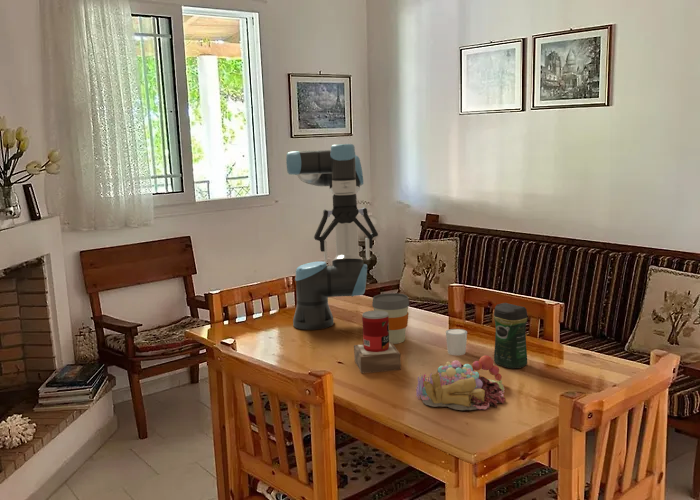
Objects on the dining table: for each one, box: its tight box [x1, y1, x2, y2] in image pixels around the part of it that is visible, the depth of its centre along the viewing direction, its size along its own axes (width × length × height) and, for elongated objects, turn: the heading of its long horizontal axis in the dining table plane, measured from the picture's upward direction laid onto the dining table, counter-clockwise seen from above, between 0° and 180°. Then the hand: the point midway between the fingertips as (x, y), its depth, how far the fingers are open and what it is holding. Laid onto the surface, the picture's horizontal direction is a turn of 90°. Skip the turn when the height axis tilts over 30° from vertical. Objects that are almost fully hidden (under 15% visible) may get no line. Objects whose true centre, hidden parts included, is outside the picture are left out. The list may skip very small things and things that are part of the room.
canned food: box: [361, 310, 389, 352], centre depth 208 cm, size 8×8×11 cm
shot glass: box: [445, 328, 468, 356], centre depth 219 cm, size 7×7×7 cm
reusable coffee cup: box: [371, 292, 410, 345], centre depth 234 cm, size 13×13×15 cm
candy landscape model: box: [415, 355, 506, 411], centre depth 184 cm, size 25×24×9 cm
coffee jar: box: [493, 302, 528, 369], centre depth 205 cm, size 10×8×19 cm
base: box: [353, 342, 402, 374], centre depth 210 cm, size 12×12×5 cm
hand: (346, 260), depth 219 cm, fingers open, 13 cm apart
